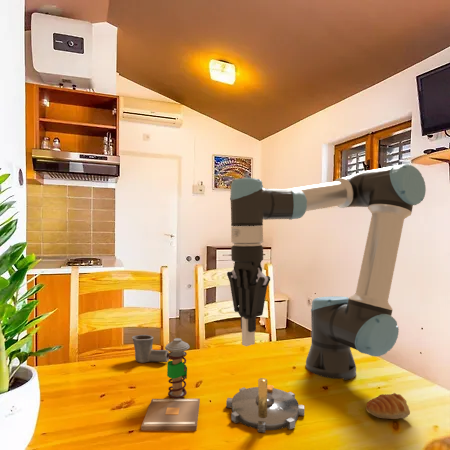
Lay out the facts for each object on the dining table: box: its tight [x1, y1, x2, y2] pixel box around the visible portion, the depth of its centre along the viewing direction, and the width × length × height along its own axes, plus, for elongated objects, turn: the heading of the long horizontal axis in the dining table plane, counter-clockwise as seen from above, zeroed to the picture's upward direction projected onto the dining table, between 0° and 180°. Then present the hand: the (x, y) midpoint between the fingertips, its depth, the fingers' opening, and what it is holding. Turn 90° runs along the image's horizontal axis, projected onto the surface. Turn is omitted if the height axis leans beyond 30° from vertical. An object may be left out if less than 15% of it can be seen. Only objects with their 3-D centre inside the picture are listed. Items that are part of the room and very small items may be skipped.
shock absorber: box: [164, 337, 190, 399], centre depth 91 cm, size 6×6×15 cm
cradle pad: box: [140, 398, 201, 432], centre depth 82 cm, size 12×12×1 cm
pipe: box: [131, 334, 170, 364], centre depth 114 cm, size 6×13×8 cm, turn 76°
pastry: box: [365, 392, 411, 420], centre depth 83 cm, size 9×7×4 cm
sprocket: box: [225, 377, 305, 433], centre depth 84 cm, size 19×19×10 cm
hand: (248, 344), depth 82 cm, fingers closed
